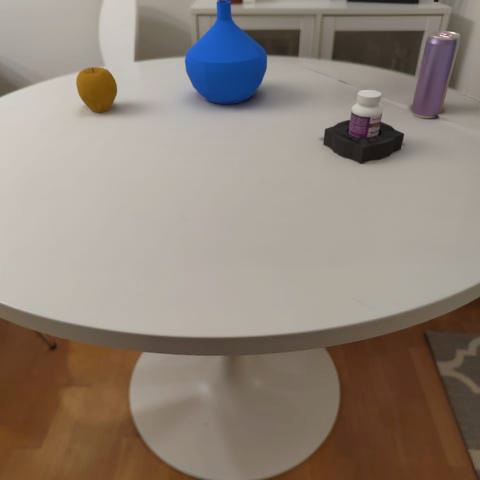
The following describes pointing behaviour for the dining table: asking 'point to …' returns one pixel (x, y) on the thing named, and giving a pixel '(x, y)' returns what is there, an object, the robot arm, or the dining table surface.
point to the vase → (226, 61)
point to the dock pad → (363, 142)
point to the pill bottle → (366, 115)
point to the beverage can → (435, 73)
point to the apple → (96, 88)
